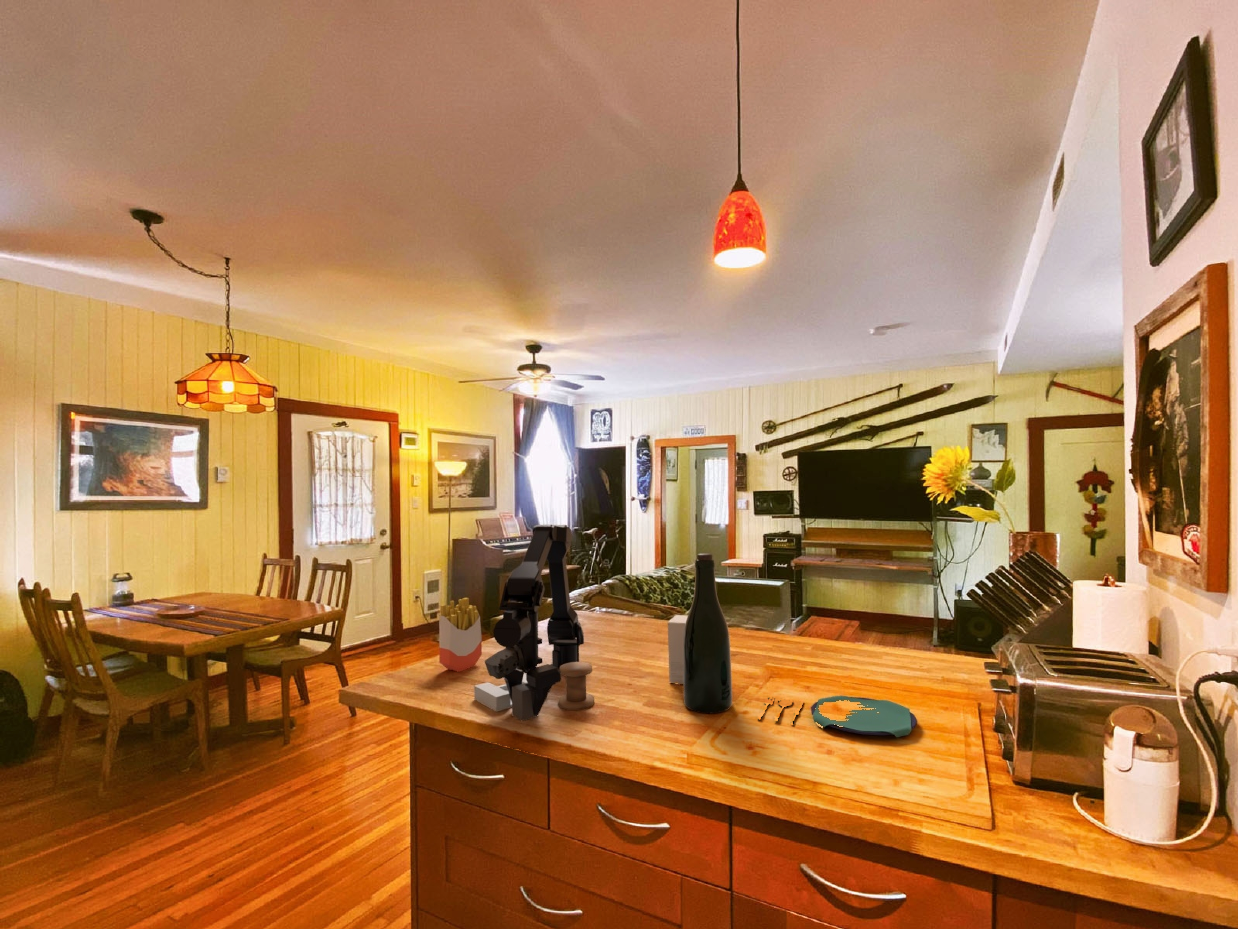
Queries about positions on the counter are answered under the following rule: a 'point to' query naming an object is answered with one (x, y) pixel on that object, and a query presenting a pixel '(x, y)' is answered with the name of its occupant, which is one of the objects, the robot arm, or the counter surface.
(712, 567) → the wine bottle
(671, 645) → the supplement box
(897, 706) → the teal oval plate
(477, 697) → the notched board
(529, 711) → the block
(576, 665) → the bobbin
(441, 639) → the french fries container
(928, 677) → the counter surface
